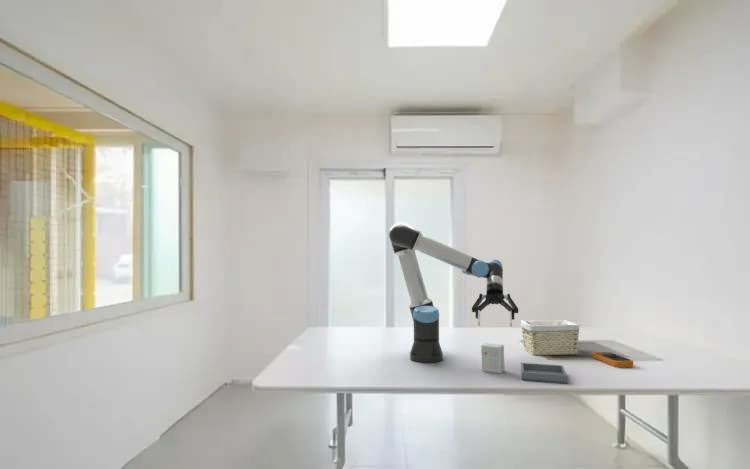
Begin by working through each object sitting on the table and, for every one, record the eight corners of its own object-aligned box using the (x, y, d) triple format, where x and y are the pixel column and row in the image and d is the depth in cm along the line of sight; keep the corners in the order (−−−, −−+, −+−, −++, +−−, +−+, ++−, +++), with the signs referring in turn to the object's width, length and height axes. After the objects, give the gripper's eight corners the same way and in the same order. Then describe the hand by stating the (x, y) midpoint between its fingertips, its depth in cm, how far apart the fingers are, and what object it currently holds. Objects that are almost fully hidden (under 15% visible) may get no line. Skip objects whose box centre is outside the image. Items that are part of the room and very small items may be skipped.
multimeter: (617, 369, 181) (616, 361, 182) (591, 358, 199) (591, 351, 199) (636, 368, 182) (636, 360, 182) (609, 358, 200) (609, 351, 200)
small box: (504, 370, 178) (504, 344, 179) (501, 373, 173) (500, 347, 174) (485, 368, 182) (485, 342, 183) (481, 371, 178) (481, 345, 178)
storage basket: (530, 356, 204) (530, 324, 205) (519, 348, 220) (519, 319, 221) (581, 356, 204) (580, 324, 205) (566, 348, 220) (566, 319, 221)
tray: (521, 380, 165) (521, 372, 165) (521, 370, 179) (520, 362, 179) (567, 383, 160) (567, 375, 160) (562, 373, 174) (562, 365, 174)
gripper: (522, 292, 203) (524, 330, 188) (468, 292, 210) (466, 328, 195) (522, 282, 198) (524, 319, 183) (467, 282, 206) (465, 318, 191)
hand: (494, 324), depth 189 cm, fingers open, 13 cm apart
